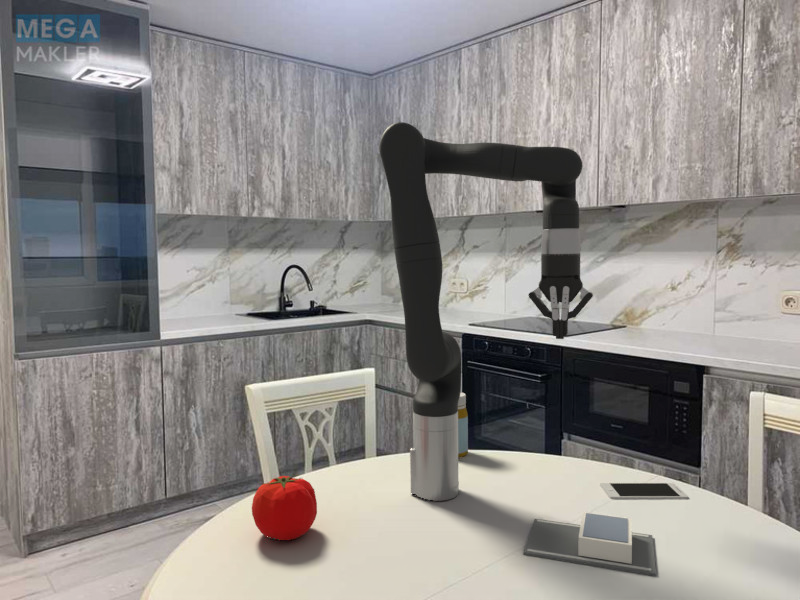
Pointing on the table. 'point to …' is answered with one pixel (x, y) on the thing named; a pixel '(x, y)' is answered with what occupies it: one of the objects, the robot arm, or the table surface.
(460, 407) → the bottle
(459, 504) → the table surface
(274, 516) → the tomato
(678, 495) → the smartphone
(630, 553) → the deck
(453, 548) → the table surface
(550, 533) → the mat
